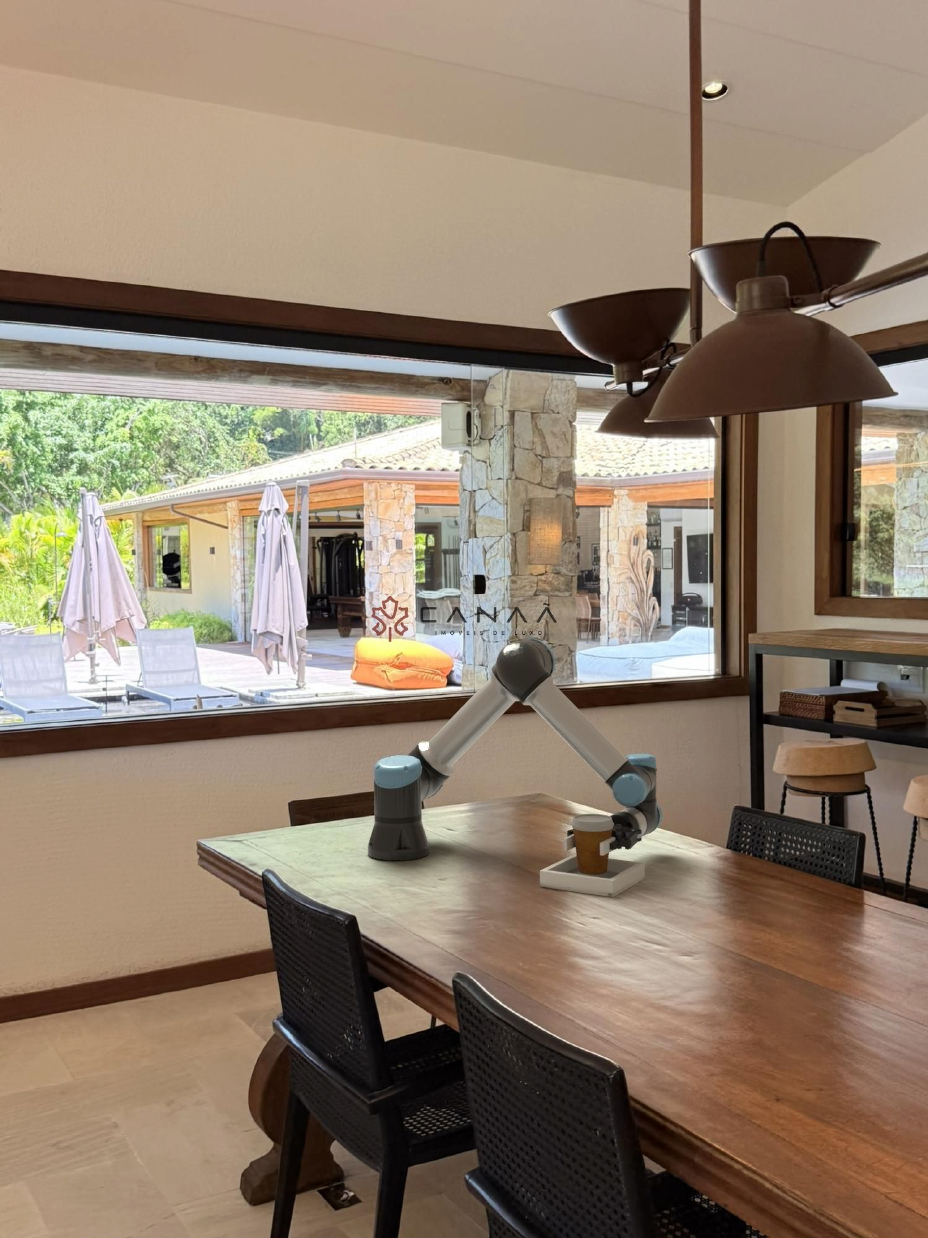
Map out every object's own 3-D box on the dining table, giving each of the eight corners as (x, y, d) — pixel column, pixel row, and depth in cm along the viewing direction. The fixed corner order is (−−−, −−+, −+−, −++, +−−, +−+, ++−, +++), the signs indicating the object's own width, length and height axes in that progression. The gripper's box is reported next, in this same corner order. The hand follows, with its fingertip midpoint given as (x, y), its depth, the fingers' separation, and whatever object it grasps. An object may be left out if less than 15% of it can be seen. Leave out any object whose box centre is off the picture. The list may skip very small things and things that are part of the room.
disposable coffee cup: (619, 868, 260) (619, 815, 259) (606, 879, 251) (606, 824, 250) (579, 864, 264) (579, 812, 263) (565, 874, 255) (564, 820, 255)
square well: (539, 886, 254) (539, 870, 254) (574, 869, 269) (574, 854, 269) (612, 897, 245) (612, 881, 245) (644, 878, 260) (644, 863, 260)
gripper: (666, 847, 267) (627, 870, 248) (584, 838, 278) (540, 858, 259) (666, 815, 267) (627, 835, 247) (584, 807, 278) (540, 825, 258)
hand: (583, 847), depth 253 cm, fingers closed on disposable coffee cup, 8 cm apart
